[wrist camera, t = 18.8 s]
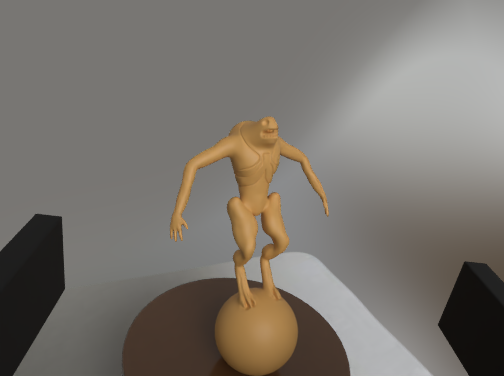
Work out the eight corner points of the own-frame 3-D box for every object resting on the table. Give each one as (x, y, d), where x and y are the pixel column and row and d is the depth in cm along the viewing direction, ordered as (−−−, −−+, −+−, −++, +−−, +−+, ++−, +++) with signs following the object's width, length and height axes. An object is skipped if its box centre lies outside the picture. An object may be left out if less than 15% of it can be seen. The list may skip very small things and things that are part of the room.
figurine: (188, 427, 17) (221, 153, 12) (143, 328, 22) (155, 101, 17) (338, 364, 21) (407, 143, 17) (275, 293, 26) (314, 103, 21)
